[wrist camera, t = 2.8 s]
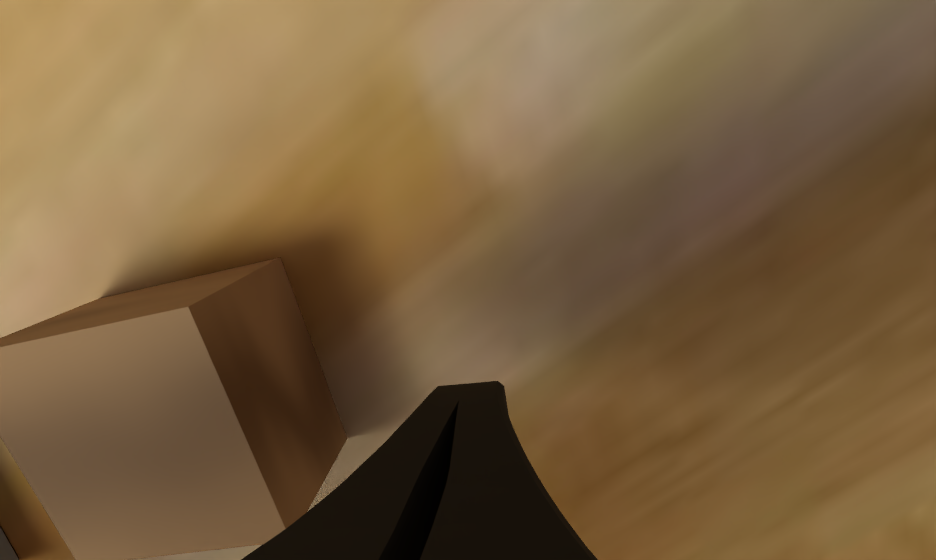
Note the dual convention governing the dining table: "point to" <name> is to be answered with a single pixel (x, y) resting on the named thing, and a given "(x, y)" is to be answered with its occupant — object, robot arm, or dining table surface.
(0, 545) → the backboard
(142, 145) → the dining table surface
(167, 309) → the walnut block
